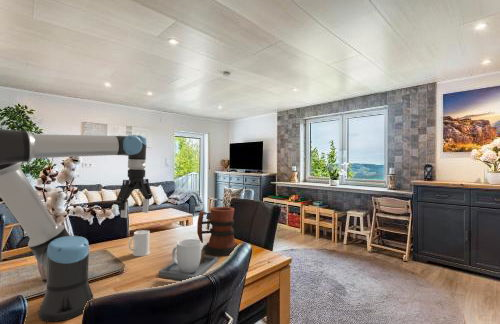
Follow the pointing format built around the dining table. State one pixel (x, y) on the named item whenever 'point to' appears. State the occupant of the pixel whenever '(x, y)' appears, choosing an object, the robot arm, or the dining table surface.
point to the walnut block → (202, 256)
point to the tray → (175, 272)
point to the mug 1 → (141, 243)
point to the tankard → (218, 231)
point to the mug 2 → (187, 255)
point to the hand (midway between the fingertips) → (135, 214)
